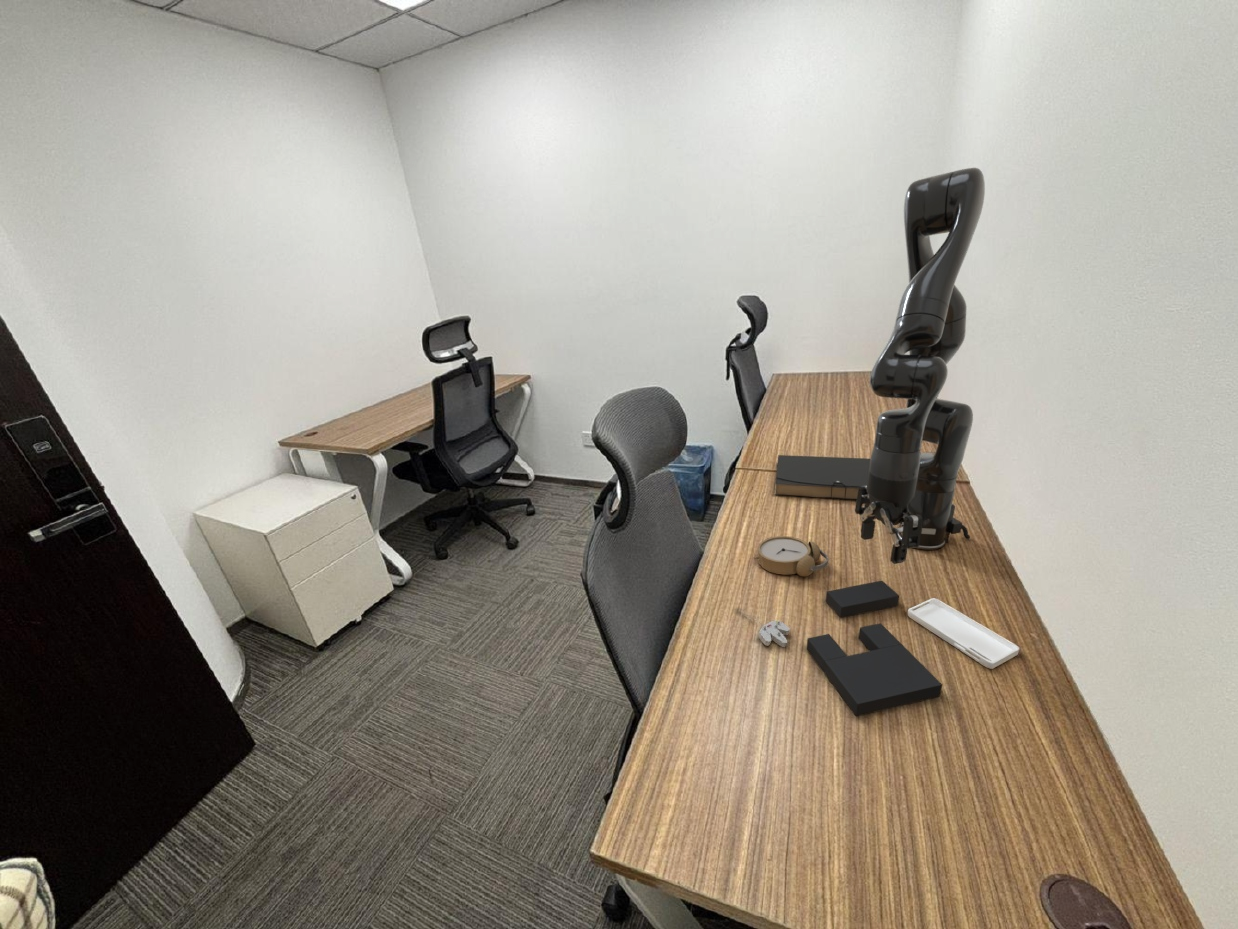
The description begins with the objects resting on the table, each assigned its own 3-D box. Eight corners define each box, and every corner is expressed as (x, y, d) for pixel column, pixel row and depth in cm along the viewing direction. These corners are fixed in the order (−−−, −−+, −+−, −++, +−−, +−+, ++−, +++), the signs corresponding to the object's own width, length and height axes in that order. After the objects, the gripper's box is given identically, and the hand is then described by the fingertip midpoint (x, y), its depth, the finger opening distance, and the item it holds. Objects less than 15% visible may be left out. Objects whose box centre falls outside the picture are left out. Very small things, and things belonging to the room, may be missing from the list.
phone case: (1019, 654, 80) (933, 602, 93) (1021, 647, 79) (934, 596, 92) (990, 670, 78) (905, 615, 90) (991, 664, 77) (906, 609, 90)
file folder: (775, 482, 137) (778, 452, 158) (774, 495, 138) (778, 463, 159) (908, 490, 126) (892, 456, 147) (906, 504, 128) (891, 468, 148)
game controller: (781, 654, 85) (781, 642, 84) (722, 627, 92) (722, 617, 91) (794, 635, 88) (795, 624, 87) (737, 611, 96) (737, 600, 95)
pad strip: (880, 590, 97) (882, 580, 96) (898, 606, 93) (899, 595, 92) (825, 601, 96) (826, 591, 95) (840, 618, 91) (841, 607, 90)
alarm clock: (765, 532, 116) (832, 537, 107) (768, 550, 117) (834, 556, 108) (748, 556, 107) (820, 563, 98) (752, 576, 109) (822, 584, 100)
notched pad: (879, 634, 87) (880, 623, 86) (939, 696, 74) (942, 684, 73) (806, 649, 85) (807, 638, 84) (855, 716, 72) (857, 704, 71)
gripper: (944, 483, 78) (927, 568, 84) (885, 453, 91) (874, 528, 98) (902, 490, 77) (888, 574, 84) (848, 458, 90) (840, 534, 97)
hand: (881, 549), depth 91 cm, fingers open, 8 cm apart
